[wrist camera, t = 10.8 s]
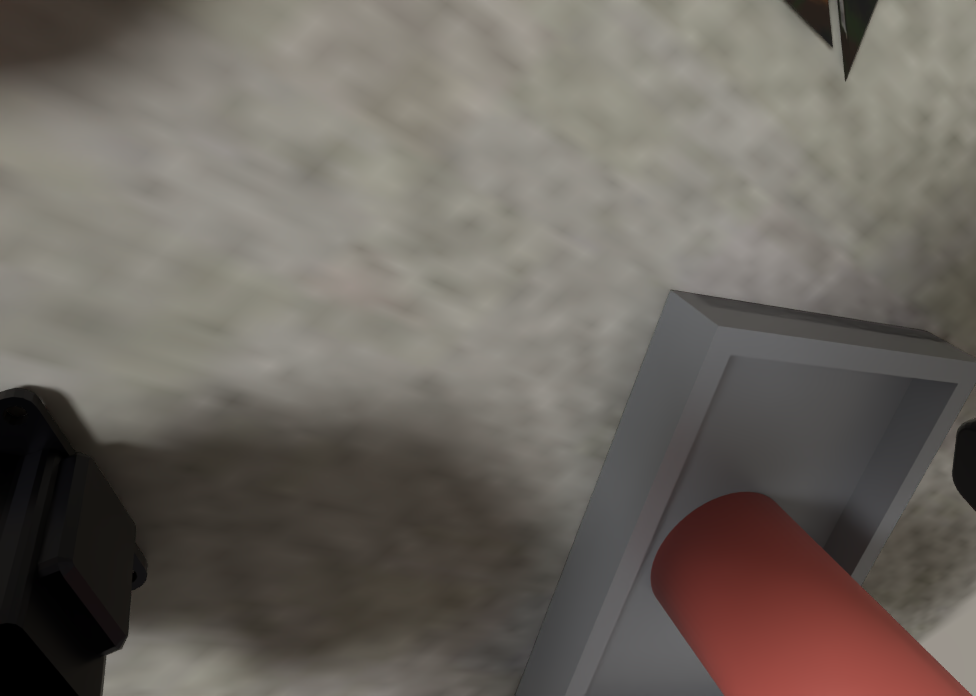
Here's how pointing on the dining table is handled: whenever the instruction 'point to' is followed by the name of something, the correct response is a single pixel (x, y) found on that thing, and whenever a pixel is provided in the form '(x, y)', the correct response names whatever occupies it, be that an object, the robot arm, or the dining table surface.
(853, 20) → the knife
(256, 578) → the dining table surface
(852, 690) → the pepper mill
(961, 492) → the robot arm
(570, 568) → the tray
